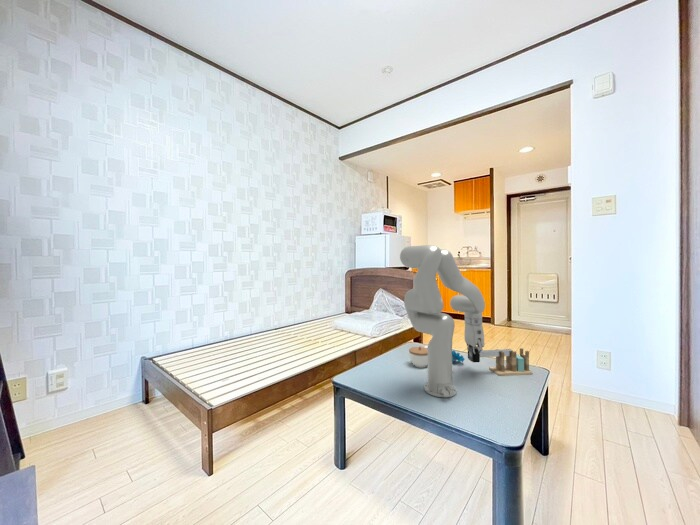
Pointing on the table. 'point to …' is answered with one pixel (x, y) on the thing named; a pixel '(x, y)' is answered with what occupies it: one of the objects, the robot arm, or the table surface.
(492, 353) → the grey mallet
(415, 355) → the lidded jar
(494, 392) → the table surface
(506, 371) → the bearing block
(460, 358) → the blue coral
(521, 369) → the block
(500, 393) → the table surface
